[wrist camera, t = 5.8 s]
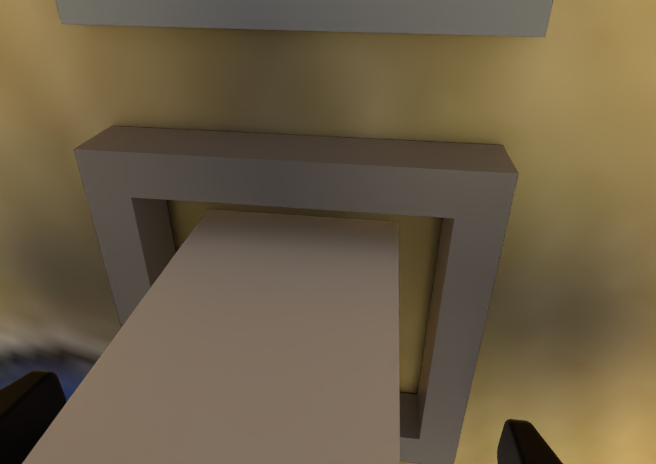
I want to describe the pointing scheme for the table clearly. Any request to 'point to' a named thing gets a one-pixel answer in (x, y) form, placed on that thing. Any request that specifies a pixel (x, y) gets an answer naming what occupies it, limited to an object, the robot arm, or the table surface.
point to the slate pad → (321, 15)
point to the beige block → (250, 352)
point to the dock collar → (323, 194)
